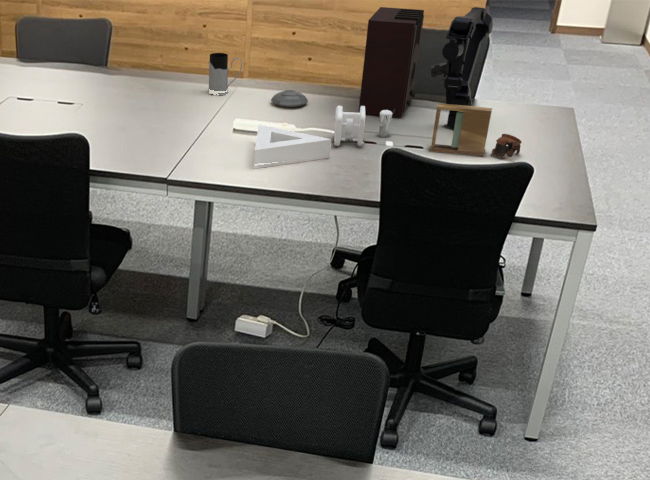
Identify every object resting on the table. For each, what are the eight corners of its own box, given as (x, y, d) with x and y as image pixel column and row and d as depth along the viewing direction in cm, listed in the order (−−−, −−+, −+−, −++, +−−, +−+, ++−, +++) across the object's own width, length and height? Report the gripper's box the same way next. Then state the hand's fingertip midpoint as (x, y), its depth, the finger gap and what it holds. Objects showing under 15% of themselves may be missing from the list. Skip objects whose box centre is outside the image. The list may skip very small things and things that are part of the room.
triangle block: (253, 168, 333) (254, 150, 329) (221, 147, 352) (221, 129, 348) (329, 157, 343) (331, 139, 339) (293, 137, 362) (295, 119, 358)
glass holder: (206, 90, 413) (206, 52, 404) (239, 89, 415) (240, 51, 406) (208, 96, 406) (209, 57, 397) (242, 95, 408) (244, 56, 399)
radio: (358, 114, 385) (368, 17, 364) (370, 97, 406) (380, 4, 384) (405, 119, 381) (419, 21, 359) (415, 101, 401) (428, 7, 380)
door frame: (431, 146, 353) (438, 102, 343) (485, 152, 348) (493, 107, 338) (429, 151, 349) (436, 106, 339) (483, 156, 344) (492, 111, 334)
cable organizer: (362, 149, 350) (365, 116, 343) (332, 148, 351) (335, 115, 344) (361, 137, 362) (365, 104, 355) (333, 135, 363) (336, 103, 356)
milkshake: (391, 138, 361) (395, 110, 355) (376, 137, 362) (380, 109, 356) (391, 134, 364) (395, 106, 358) (377, 133, 365) (380, 105, 359)
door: (453, 141, 352) (459, 106, 345) (478, 143, 350) (485, 109, 343) (450, 147, 347) (456, 112, 340) (476, 149, 345) (483, 114, 337)
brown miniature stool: (484, 154, 348) (495, 131, 346) (505, 165, 351) (516, 142, 349) (501, 155, 337) (512, 132, 335) (522, 166, 340) (534, 143, 338)
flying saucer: (315, 105, 395) (316, 91, 392) (286, 111, 389) (287, 97, 385) (291, 97, 405) (292, 83, 402) (263, 102, 399) (264, 88, 395)
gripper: (433, 50, 354) (425, 95, 363) (434, 58, 339) (425, 105, 348) (464, 53, 353) (455, 98, 362) (466, 61, 338) (457, 109, 346)
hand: (447, 102), depth 354 cm, fingers open, 9 cm apart
